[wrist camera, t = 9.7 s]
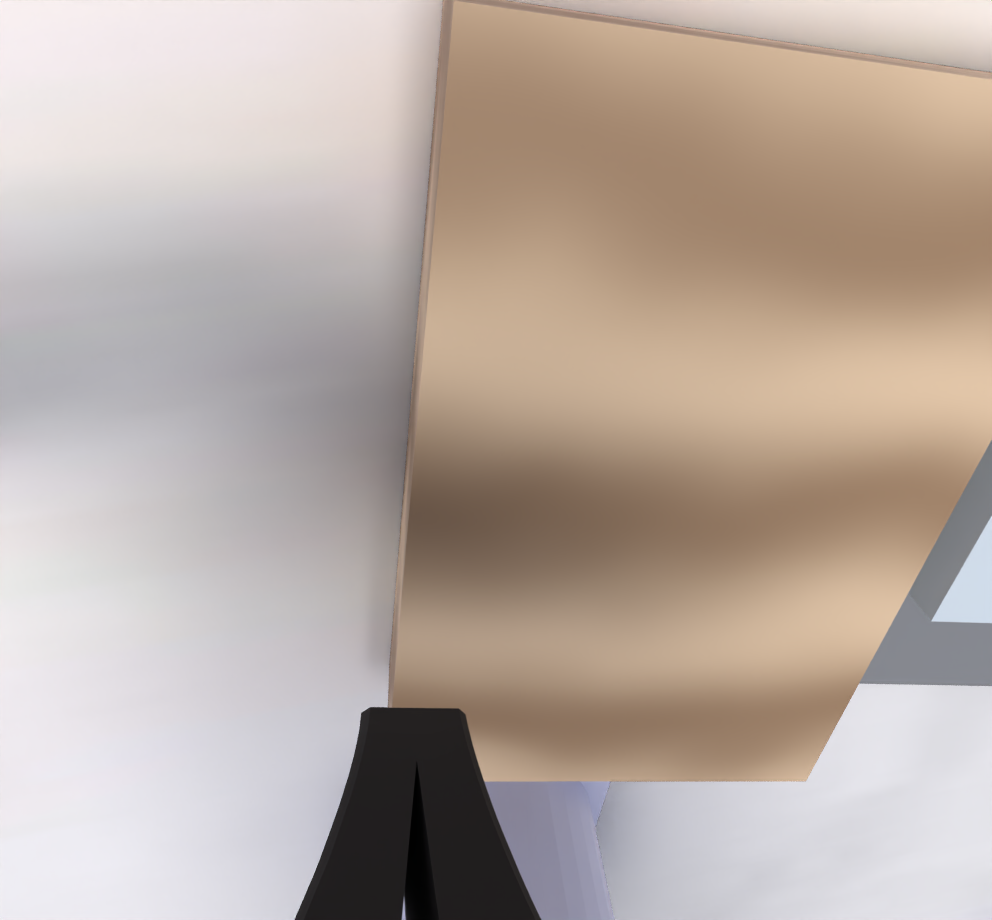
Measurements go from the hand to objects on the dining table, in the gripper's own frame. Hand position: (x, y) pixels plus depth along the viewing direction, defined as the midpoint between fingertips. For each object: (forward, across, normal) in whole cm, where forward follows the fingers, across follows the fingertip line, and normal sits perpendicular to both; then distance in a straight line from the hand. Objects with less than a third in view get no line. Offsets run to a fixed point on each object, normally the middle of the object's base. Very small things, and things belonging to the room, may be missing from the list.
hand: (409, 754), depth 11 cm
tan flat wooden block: (+10, -6, 0) cm, 12 cm away
